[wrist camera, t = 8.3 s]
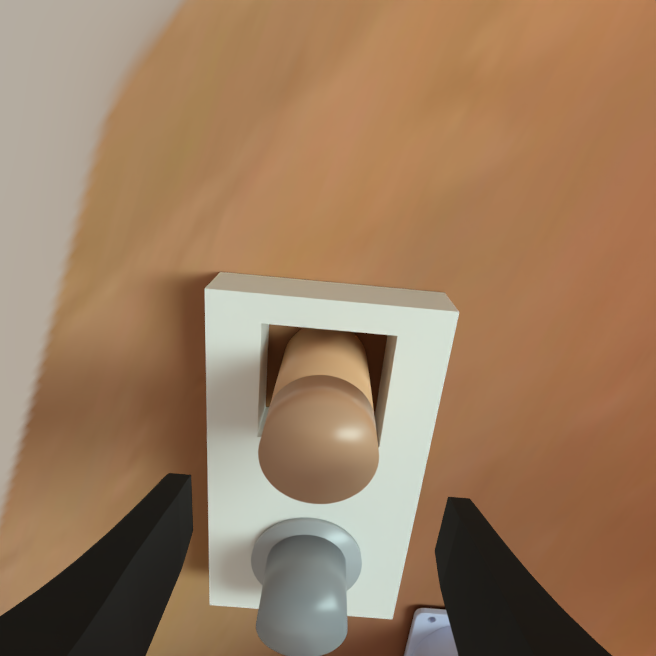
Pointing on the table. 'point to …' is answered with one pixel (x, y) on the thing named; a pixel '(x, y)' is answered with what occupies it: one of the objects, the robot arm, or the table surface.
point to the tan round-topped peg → (321, 420)
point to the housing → (305, 518)
